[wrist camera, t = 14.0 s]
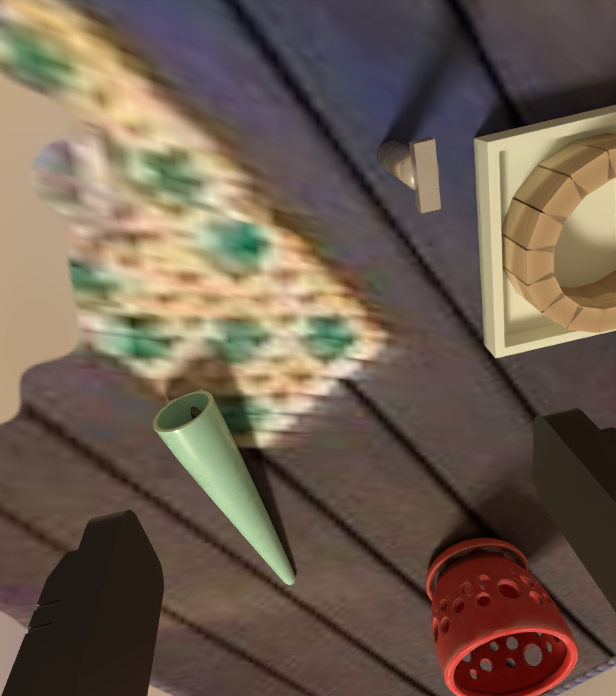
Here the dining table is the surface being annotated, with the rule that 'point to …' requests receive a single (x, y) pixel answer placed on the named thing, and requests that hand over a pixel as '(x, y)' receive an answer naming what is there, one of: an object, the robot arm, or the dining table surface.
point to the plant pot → (495, 621)
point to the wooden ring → (544, 229)
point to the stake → (414, 169)
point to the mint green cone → (221, 471)
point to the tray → (573, 242)
